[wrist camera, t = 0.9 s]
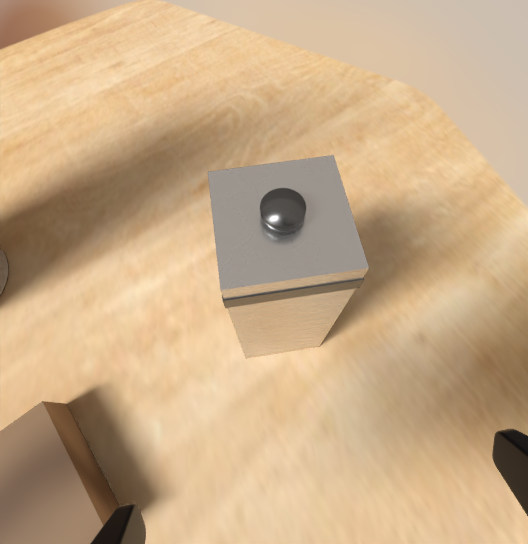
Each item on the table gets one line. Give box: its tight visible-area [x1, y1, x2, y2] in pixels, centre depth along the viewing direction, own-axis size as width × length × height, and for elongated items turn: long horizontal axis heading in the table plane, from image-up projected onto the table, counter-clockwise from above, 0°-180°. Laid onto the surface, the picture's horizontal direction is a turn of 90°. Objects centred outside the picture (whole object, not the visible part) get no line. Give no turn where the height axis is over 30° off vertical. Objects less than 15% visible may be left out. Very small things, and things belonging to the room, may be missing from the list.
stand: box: [0, 401, 119, 544], centre depth 18 cm, size 8×8×2 cm
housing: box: [208, 155, 369, 358], centre depth 18 cm, size 5×5×13 cm
